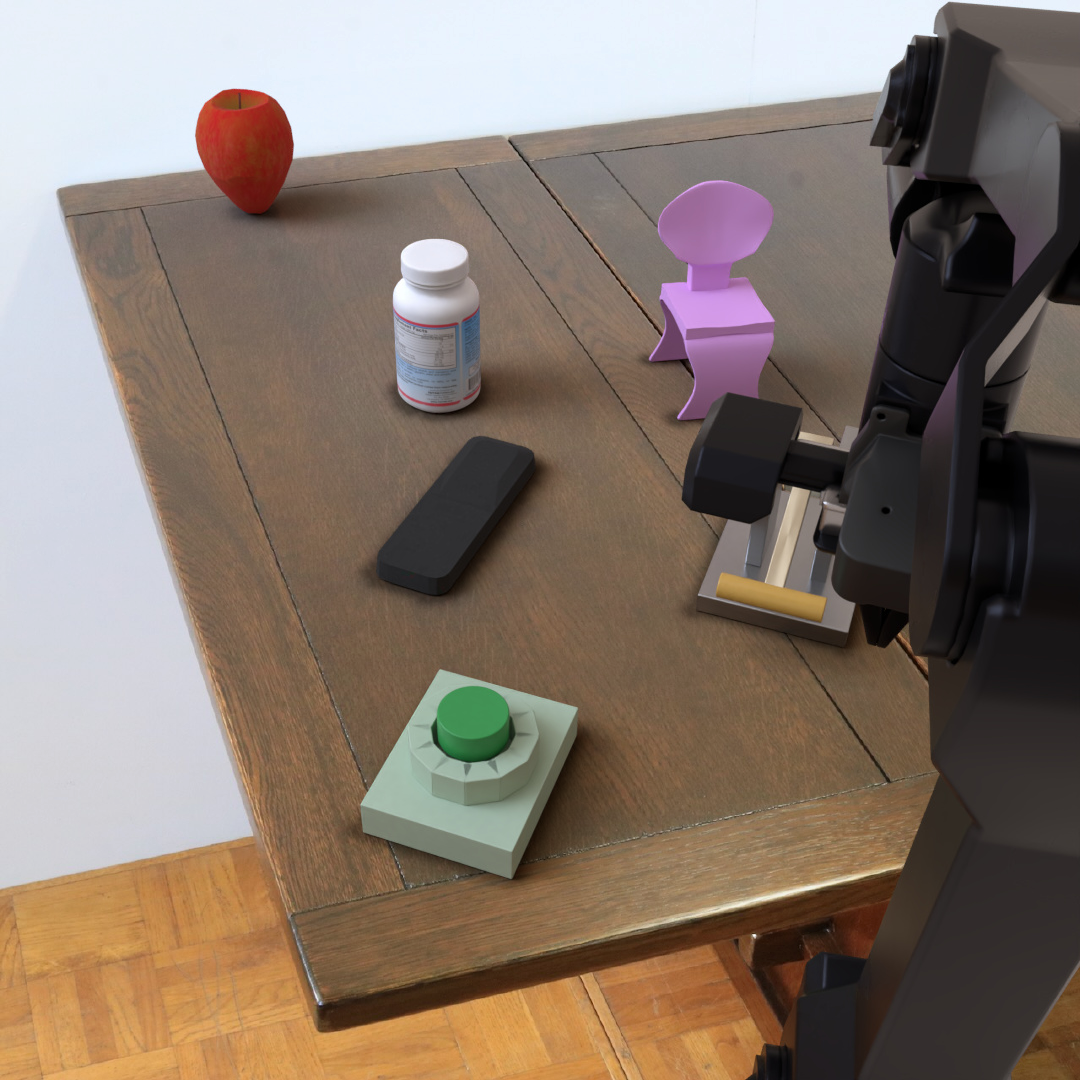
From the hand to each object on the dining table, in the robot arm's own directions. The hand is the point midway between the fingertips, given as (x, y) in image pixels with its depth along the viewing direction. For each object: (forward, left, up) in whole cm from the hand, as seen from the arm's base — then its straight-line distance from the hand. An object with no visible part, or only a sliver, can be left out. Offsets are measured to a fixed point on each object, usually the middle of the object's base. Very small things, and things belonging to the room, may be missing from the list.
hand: (877, 640), depth 61 cm
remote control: (+15, +27, -12) cm, 33 cm away
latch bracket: (+18, +6, -12) cm, 22 cm away
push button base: (-5, +18, -12) cm, 22 cm away
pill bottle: (+28, +34, -12) cm, 46 cm away
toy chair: (+36, +16, -12) cm, 41 cm away
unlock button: (-5, +18, -8) cm, 20 cm away
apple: (+49, +61, -12) cm, 79 cm away
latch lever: (+15, +6, -7) cm, 17 cm away
